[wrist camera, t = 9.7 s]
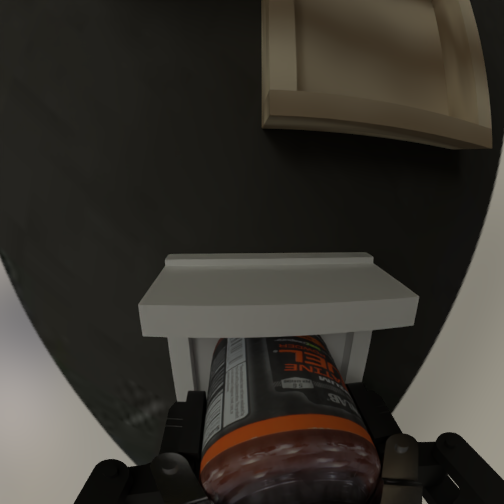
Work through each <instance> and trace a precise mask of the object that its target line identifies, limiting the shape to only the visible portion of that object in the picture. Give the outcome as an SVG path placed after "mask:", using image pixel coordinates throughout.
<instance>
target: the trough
mask: <svg viewBox="0 0 504 504" xmlns="http://www.w3.org/2000/svg"><path fill="white" fill-rule="evenodd" d="M261 16H262V128H266V129H294V130H311V131H325V132H337V133H348V134H358V135H366V136H375V137H382V138H390V139H396V140H403V141H409V142H415V143H421V144H427V145H432V146H438V147H443V148H448V149H492V126H491V112H490V101H489V91H488V83H487V76H486V70H485V64H484V58H483V53H482V48H481V43H480V38H479V34H478V30H477V25H476V22H475V18H474V14H473V10H472V7H471V4H470V0H261Z"/></svg>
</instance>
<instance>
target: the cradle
mask: <svg viewBox="0 0 504 504" xmlns="http://www.w3.org/2000/svg"><path fill="white" fill-rule="evenodd" d="M373 258H374V257H373V256H371V255H370V254H368V253H367V252H331V253H231V254H169V255H168V256H167V258H166V259H165V267H164V268H163V270H162V271H161V273H160V274H159V276H158V277H157V278H156V280H155V281H154V283H153V284H152V285H151V287H150V288H149V290H148V291H147V293H146V294H145V296H144V297H143V298H142V300H141V301H140V303H139V304H138V307H139V314H140V321H141V328H142V334H143V336H151V337H168V344H169V352H170V359H171V366H172V372H173V378H174V385H175V391H176V396H177V401H178V402H186V398H187V393H188V391H205V392H206V399H207V394H208V386H209V377H210V368H211V362H212V356H213V352H214V349H215V346H216V344H217V342H218V340H219V339H220V338H251V337H282V336H303V335H320V336H321V338H322V339H323V341H324V342H325V343H326V345H327V348H328V350H329V352H330V354H331V356H332V358H333V359H334V362H335V364H336V367H337V369H338V370H339V372H340V375H341V377H342V379H343V381H344V383H345V384H347V383H354V382H362V378H363V374H364V369H365V365H366V360H367V355H368V350H369V345H370V340H371V335H372V330H378V329H387V328H396V327H404V326H412V325H414V320H415V316H416V311H417V306H418V301H419V296H418V295H416V294H415V293H414V292H412V291H411V290H410V289H408V288H407V287H406V286H404V285H403V284H402V283H400V282H399V281H397V280H396V279H395V278H393V277H392V276H391V275H389V274H388V273H386V272H385V271H384V270H382V269H381V268H379V267H378V266H377V265H375V264H374V263H373Z"/></svg>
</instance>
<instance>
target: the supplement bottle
mask: <svg viewBox="0 0 504 504" xmlns="http://www.w3.org/2000/svg"><path fill="white" fill-rule="evenodd" d="M380 471H381V465H380V460H379V456H378V453H377V450H376V448H375V446H374V444H373V442H372V440H371V437H370V435H369V433H368V430H367V428H366V426H365V425H364V422H363V420H362V418H361V416H360V413H359V412H358V410H357V408H356V405H355V403H354V401H353V399H352V397H351V396H350V393H349V391H348V389H347V387H346V385H345V383H344V381H343V379H342V377H341V375H340V372H339V370H338V369H337V367H336V364H335V362H334V359H333V358H332V356H331V354H330V352H329V350H328V348H327V345H326V343H325V342H324V341H323V339H322V338H321V336H320V335H303V336H282V337H251V338H220V339H219V340H218V342H217V344H216V346H215V349H214V352H213V356H212V362H211V368H210V377H209V386H208V394H207V403H206V412H205V420H204V432H203V441H202V450H201V460H200V471H199V484H200V486H201V487H202V489H203V491H204V493H205V494H206V496H207V498H208V499H209V500H211V501H212V502H213V503H214V504H365V502H366V501H367V500H368V499H369V498H370V496H371V495H372V494H373V493H374V491H375V489H376V487H377V484H378V480H379V476H380Z"/></svg>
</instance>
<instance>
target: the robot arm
mask: <svg viewBox="0 0 504 504" xmlns="http://www.w3.org/2000/svg"><path fill="white" fill-rule="evenodd" d="M345 385H346V387H347V389H348V391H349V393H350V396H351V397H352V399H353V401H354V403H355V405H356V408H357V410H358V412H359V413H360V416H361V418H362V420H363V422H364V425H365V426H366V428H367V430H368V433H369V435H370V437H371V440H372V442H373V444H374V446H375V448H376V450H377V453H378V456H379V460H380V465H381V471H380V476H379V480H378V484H377V487H376V489H375V491H374V493H373V494H372V495H371V496H370V498H369V499H368V500H367V501H366V502H365V504H422V496H423V498H424V499H425V500H426V502H427V503H428V504H504V480H503V479H502V478H501V477H500V476H499V475H498V474H497V473H496V472H495V471H494V470H493V469H492V468H491V467H490V466H489V465H488V464H487V463H486V461H485V460H484V459H483V458H482V457H480V455H478V453H477V452H476V451H475V450H474V449H473V448H472V447H471V446H470V445H469V444H468V443H467V442H466V441H465V440H464V439H463V438H462V437H461V436H460V435H458V434H456V433H451V432H447V433H443V434H441V435H440V436H439V437H438V438H437V440H436V442H417V441H416V439H415V438H413V437H412V436H410V435H408V434H403V433H402V431H401V430H400V428H399V426H398V425H397V423H396V421H395V420H394V418H393V416H392V415H391V413H390V412H389V410H388V408H387V406H385V403H384V401H383V400H382V398H381V397H380V396H379V395H378V394H376V393H375V392H374V391H368V392H367V390H366V388H365V386H364V385H363V383H362V382H354V383H347V384H345ZM206 403H207V399H206V392H205V391H188V393H187V398H186V402H178V401H176V402H175V403H174V404H173V406H172V407H171V408H170V409H169V413H168V419H167V422H166V427H165V431H164V435H163V440H162V444H161V449H160V453H159V455H158V456H156V457H155V458H154V459H153V460H152V462H151V463H148V464H146V465H141V466H133V467H127V466H126V465H125V464H124V463H123V462H121V461H119V460H115V459H108V460H104V461H101V462H100V463H98V464H97V465H96V466H95V468H94V469H93V471H92V473H91V475H90V476H89V478H88V480H87V481H86V483H85V485H84V487H83V489H82V490H81V492H80V494H79V495H78V497H77V499H76V500H75V502H74V504H214V503H213V502H212V501H211V500H209V499H208V498H207V496H206V494H205V493H204V491H203V489H202V487H201V486H200V484H199V471H200V460H201V450H202V441H203V432H204V420H205V412H206ZM448 475H449V476H450V477H451V478H452V479H453V481H454V482H455V483H456V484H457V485H458V486H459V488H458V487H457V486H456V485H455V484H454V482H453V481H452V480H451V479H450V477H449V476H448Z"/></svg>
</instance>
